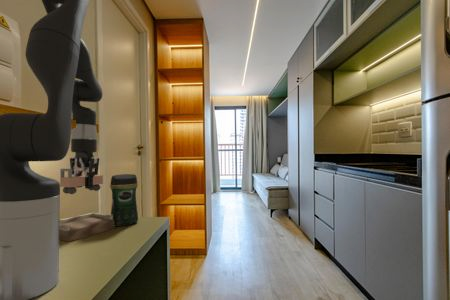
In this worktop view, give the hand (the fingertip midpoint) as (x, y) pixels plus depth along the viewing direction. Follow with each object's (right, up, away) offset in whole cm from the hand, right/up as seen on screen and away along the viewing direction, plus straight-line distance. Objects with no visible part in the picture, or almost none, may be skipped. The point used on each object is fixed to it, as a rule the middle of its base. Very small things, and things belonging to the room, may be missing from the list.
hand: (83, 187), depth 78 cm
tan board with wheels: (0, -1, 0) cm, 2 cm away
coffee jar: (+10, -15, +8) cm, 20 cm away
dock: (0, -15, -1) cm, 15 cm away
